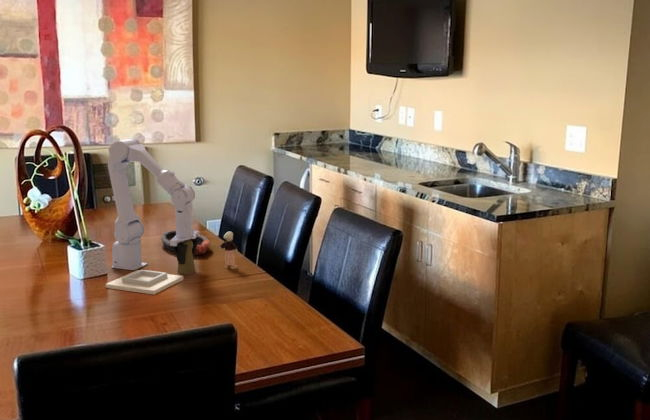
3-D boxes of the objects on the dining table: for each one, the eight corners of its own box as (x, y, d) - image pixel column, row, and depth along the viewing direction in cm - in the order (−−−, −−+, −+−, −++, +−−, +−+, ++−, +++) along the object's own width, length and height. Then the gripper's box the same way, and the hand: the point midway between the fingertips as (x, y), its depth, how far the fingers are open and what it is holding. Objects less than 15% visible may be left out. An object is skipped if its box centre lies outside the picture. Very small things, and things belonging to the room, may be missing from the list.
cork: (191, 274, 226) (190, 242, 224) (174, 273, 227) (172, 241, 225) (198, 269, 232) (197, 238, 229) (181, 268, 233) (180, 237, 231)
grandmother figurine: (242, 266, 235) (241, 231, 232) (237, 269, 232) (236, 233, 229) (222, 264, 238) (221, 229, 235) (217, 267, 234) (215, 231, 231)
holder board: (105, 287, 213) (105, 279, 212) (137, 273, 227) (137, 265, 227) (154, 294, 206) (153, 286, 206) (183, 279, 221) (183, 271, 220)
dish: (190, 238, 276) (189, 226, 275) (220, 255, 250) (219, 242, 249) (152, 243, 268) (152, 230, 267) (180, 261, 242) (179, 248, 241)
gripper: (182, 228, 218) (184, 268, 221) (206, 219, 231) (207, 257, 234) (163, 226, 220) (165, 266, 223) (188, 217, 234) (190, 255, 236)
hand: (186, 261), depth 229 cm, fingers closed on cork, 5 cm apart
